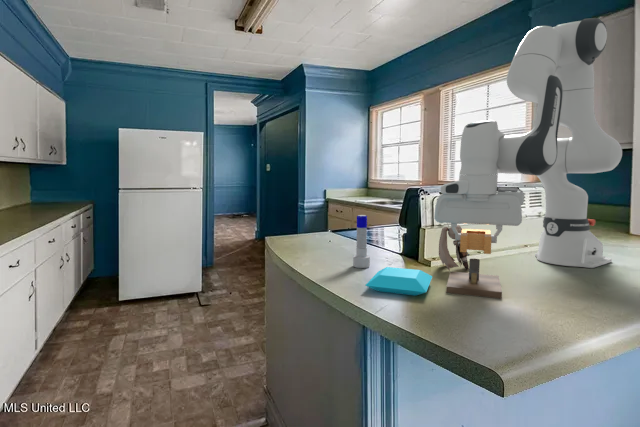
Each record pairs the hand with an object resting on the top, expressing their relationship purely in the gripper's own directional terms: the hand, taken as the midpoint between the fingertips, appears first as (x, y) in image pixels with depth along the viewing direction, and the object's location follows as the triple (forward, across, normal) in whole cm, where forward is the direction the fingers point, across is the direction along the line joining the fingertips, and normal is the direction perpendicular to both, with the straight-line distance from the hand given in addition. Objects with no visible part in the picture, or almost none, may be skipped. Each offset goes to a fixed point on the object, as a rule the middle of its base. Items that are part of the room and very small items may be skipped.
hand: (475, 241), depth 98 cm
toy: (+11, +6, -16) cm, 20 cm away
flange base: (+11, 0, +2) cm, 11 cm away
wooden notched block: (+2, 0, 0) cm, 2 cm away
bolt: (+11, +32, -8) cm, 35 cm away
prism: (+12, +17, +10) cm, 23 cm away
